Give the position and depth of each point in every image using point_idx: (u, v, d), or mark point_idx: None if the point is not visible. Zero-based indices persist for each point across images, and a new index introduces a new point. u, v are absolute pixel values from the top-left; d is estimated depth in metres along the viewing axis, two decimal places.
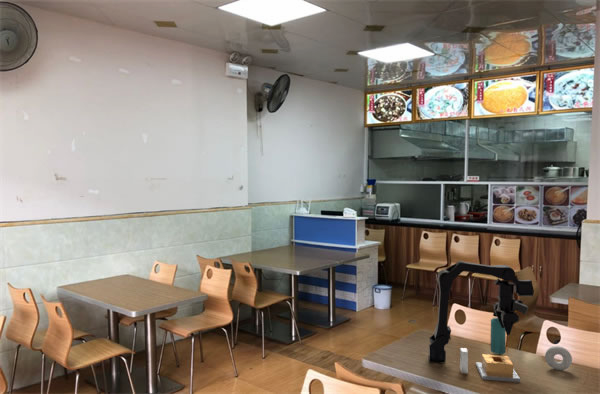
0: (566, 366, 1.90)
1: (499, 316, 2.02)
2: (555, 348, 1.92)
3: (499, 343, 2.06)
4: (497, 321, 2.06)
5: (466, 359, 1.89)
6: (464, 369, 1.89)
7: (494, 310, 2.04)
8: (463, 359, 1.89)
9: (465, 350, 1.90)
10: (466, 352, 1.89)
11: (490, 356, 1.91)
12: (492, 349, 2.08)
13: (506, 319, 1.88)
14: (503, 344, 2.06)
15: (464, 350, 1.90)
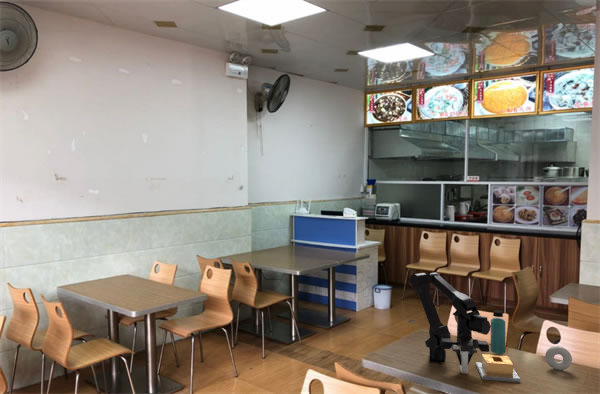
0: (566, 366, 1.90)
1: None
2: (555, 348, 1.92)
3: (499, 343, 2.06)
4: (497, 321, 2.06)
5: (466, 359, 1.89)
6: (464, 369, 1.89)
7: None
8: (463, 359, 1.89)
9: None
10: (466, 352, 1.89)
11: (490, 356, 1.91)
12: (492, 349, 2.08)
13: (440, 343, 1.94)
14: (503, 344, 2.06)
15: None
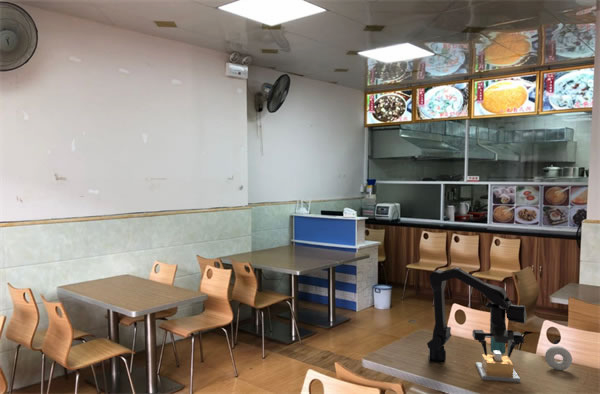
0: (566, 366, 1.90)
1: (508, 344, 1.89)
2: (555, 348, 1.92)
3: (499, 343, 2.06)
4: None
5: (500, 361, 1.86)
6: None
7: None
8: (497, 361, 1.86)
9: (498, 352, 1.87)
10: (500, 354, 1.86)
11: (490, 356, 1.91)
12: (492, 349, 2.08)
13: (472, 335, 1.92)
14: (503, 344, 2.06)
15: (498, 352, 1.88)
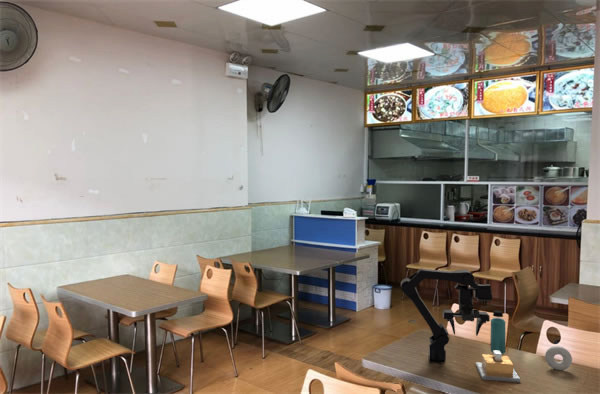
0: (566, 366, 1.90)
1: (476, 323, 2.00)
2: (555, 348, 1.92)
3: (499, 343, 2.06)
4: (497, 321, 2.06)
5: (500, 361, 1.86)
6: None
7: None
8: (497, 361, 1.86)
9: (498, 352, 1.87)
10: (500, 354, 1.86)
11: (490, 356, 1.91)
12: (492, 349, 2.08)
13: None
14: (503, 344, 2.06)
15: (498, 352, 1.88)
